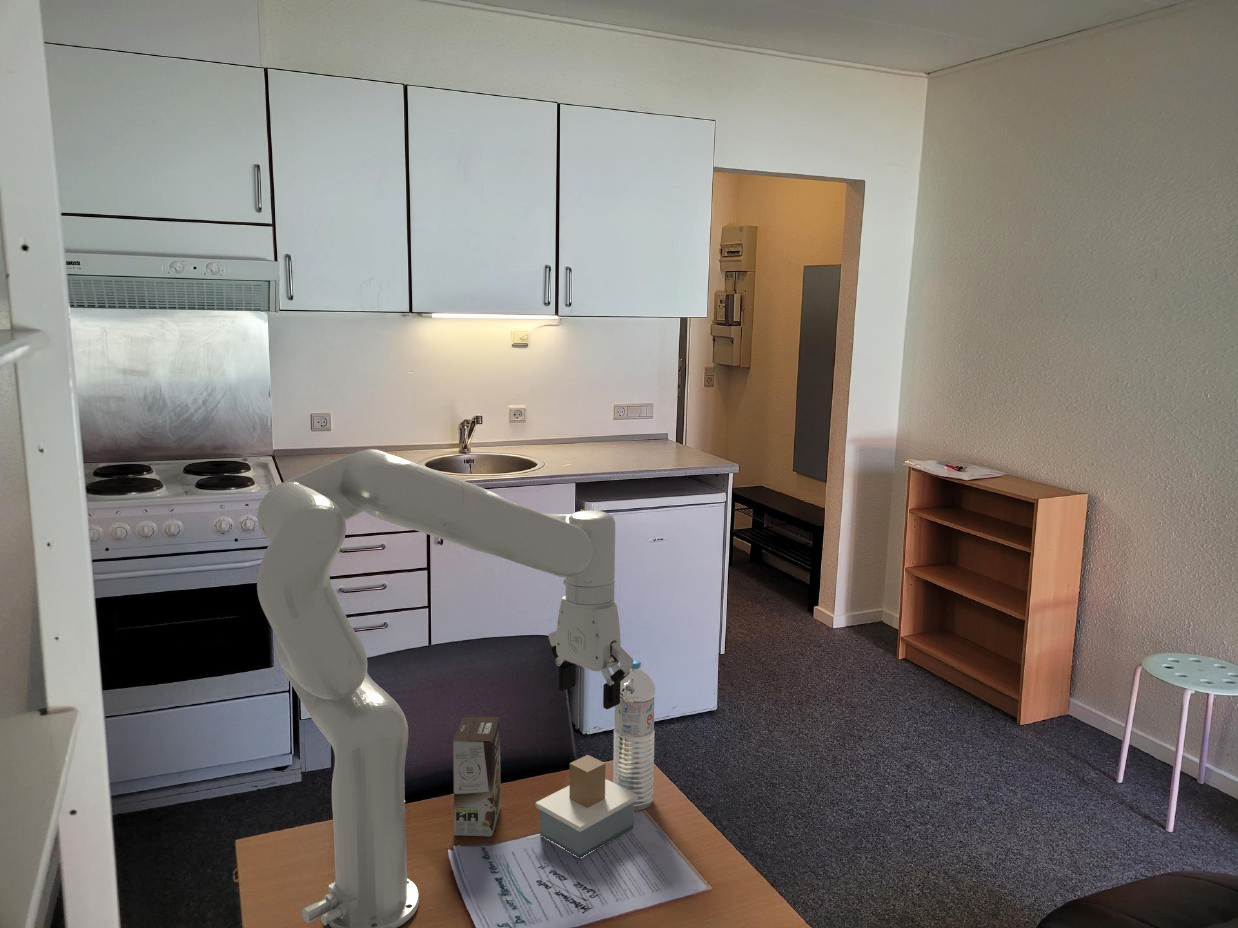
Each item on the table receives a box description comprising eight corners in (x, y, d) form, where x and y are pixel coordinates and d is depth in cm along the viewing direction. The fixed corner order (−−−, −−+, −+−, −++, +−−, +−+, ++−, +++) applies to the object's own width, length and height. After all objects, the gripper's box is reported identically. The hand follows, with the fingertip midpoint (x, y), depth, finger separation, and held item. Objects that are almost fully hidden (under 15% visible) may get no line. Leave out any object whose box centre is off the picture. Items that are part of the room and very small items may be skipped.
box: (580, 859, 140) (580, 829, 139) (540, 836, 146) (540, 806, 145) (633, 828, 148) (633, 799, 147) (593, 807, 154) (593, 779, 154)
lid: (580, 831, 138) (580, 789, 137) (535, 806, 145) (535, 766, 144) (638, 799, 147) (638, 759, 146) (593, 777, 154) (594, 739, 153)
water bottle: (630, 787, 161) (632, 650, 157) (661, 800, 157) (664, 661, 153) (604, 802, 156) (605, 662, 152) (635, 817, 152) (637, 672, 147)
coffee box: (493, 837, 145) (492, 741, 143) (453, 836, 145) (451, 740, 143) (502, 806, 154) (501, 715, 152) (463, 805, 154) (462, 715, 152)
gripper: (533, 585, 144) (533, 688, 147) (614, 609, 133) (613, 721, 136) (567, 575, 150) (567, 675, 153) (648, 598, 138) (646, 706, 141)
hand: (588, 697), depth 144 cm, fingers open, 9 cm apart
